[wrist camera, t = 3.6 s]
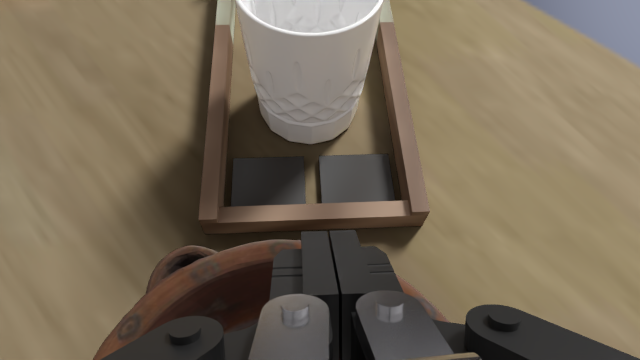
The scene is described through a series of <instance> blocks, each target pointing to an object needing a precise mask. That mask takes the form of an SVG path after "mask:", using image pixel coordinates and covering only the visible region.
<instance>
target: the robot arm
mask: <svg viewBox="0 0 640 360" xmlns="http://www.w3.org/2000/svg"><path fill="white" fill-rule="evenodd" d="M100 360H640V359H638V358H636V357H634V356H631V355H629V354H626V353H624V352H621V351H619V350H616V349H614V348H611V347H609V346H607V345H604V344H602V343H599V342H597V341H594V340H592V339H589V338H587V337H585V336H582V335H580V334H577V333H575V332H572V331H570V330H567V329H565V328H563V327H560V326H558V325H555V324H553V323H550V322H548V321H545V320H543V319H540V318H538V317H536V316H533V315H531V314H528V313H526V312H523V311H521V310H518V309H515V308H512V307H508V306H503V305H481V306H477V307H474V308H473V309H471V310H470V311H469V312H468V313H467V315H466V323H465V325H464V324H457V323H450V322H444V321H439V320H435V319H432V318H430V316H429V315H428V313H427V312H426V310H425V309H424V307H423V305H422V304H421V303H420V302H419V301H418V300H417V299H416V298H414V297H412V296H410V295H408V294H405V293H404V292H403V289H402V287H401V285H400V283H399V281H398V279H397V276H396V274H395V273H394V270H393V268H392V266H391V265H390V261H389V259H388V257H387V255H386V254H385V253H384V252H383V251H381V250H380V249H378V248H377V247H375V246H367V247H361V245H360V243H359V240H358V237H357V234H356V231H355V230H335V231H329V235H328V234H327V231H307V232H301V249H283V250H281V251H280V252H279V253H278V254H277V255H276V256H275V257H274V261H273V270H272V280H271V290H270V300H269V302H268V303H266V304H265V305H264V307H263V308H262V310H261V314H260V318H259V321H258V323H256V324H254V325H252V326H250V327H248V328H246V329H243V330H239V331H235V332H231V333H227V334H224V332H223V327H222V325H221V324H220V323H219V322H218V321H216V320H214V319H212V318H209V317H204V316H187V317H182V318H178V319H174V320H171V321H169V322H167V323H165V324H163V325H161V326H159V327H157V328H155V329H154V330H152V331H150V332H148V333H147V334H145V335H143V336H141V337H139V338H138V339H136V340H134V341H132V342H130V343H129V344H127V345H125V346H123V347H122V348H120V349H118V350H116V351H114V352H113V353H111V354H109V355H107V356H106V357H104V358H102V359H100Z"/></svg>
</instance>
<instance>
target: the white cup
mask: <svg viewBox="0 0 640 360" xmlns="http://www.w3.org/2000/svg"><path fill="white" fill-rule="evenodd" d="M383 2H384V0H235V4H236V9H237V13H238V18H239V23H240V27H241V32H242V37H243V42H244V46H245V51H246V56H247V60H248V64H249V67H250V71H251V76H252V81H253V84H254V87H255V90H256V93H257V96H258V102H259V107H260V112H261V115H262V117H263V118H264V120H265V121H266V123H267V125H268V126H269V128H270V129H271V131H273V132H275V133H276V134H278V135H280V136H281V137H283V138H285V139H286V140H288V141H291V142H298V143H305V144H315V143H320V142H324V141H328V140H332V139H334V138H335V137H337V136H338V135H339V134H341V133H342V132H343V131H345V130H346V129H347V128H349V126H350V124H351V122H352V120H353V118H354V115H355V113H356V111H357V107H358V102H359V98H360V95H361V92H362V89H363V86H364V82H365V78H366V74H367V71H368V67H369V63H370V59H371V54H372V50H373V46H374V41H375V37H376V32H377V28H378V23H379V19H380V15H381V11H382V6H383Z"/></svg>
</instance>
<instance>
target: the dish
mask: <svg viewBox="0 0 640 360" xmlns="http://www.w3.org/2000/svg"><path fill="white" fill-rule="evenodd" d="M283 249H301V240H278V239H277V240H266V241H259V242H252V243H248V244H244V245H240V246H237V247H233V248H230V249H227V250H223V251H220V252H217V251H215V250H212V249H209V248H205V247H201V246H194V245H189V246H184V247H181V248H178V249H176V250H174V251H172V252H171V253H169V254H168V255H166V256H165V257H164V258H163V259H162V260H161V261H160V262H159V263H158V264H157V266H156V267H155V269H154V271H153V273H152V275H151V277H150V280H149V282H148V286H147V291H146V295H144V296H143V297H142V298H141V299H140V300H139V301H138V302H137V303H136V304H135V306H134V307H133V308H132V309H131V310H130V311H129V312H128V313H127V314H126V315H125V316H124V317H123V318H122V320H121V321H120V322H119V323H118V325H117V326H116V327H115V328H114V330H113V331H112V332H111V333H110V334H109V335H108V337H107V338H106V339H105V341H104V342H103V343H102V345H101V346H100V348H99V350H98V351H97V353H96V355H95V357H94V358H93V360H100V359H102V358H104V357H106V356H107V355H109V354H111V353H113V352H114V351H116V350H118V349H120V348H122V347H123V346H125V345H127V344H129V343H130V342H132V341H134V340H136V339H138V338H139V337H141V336H143V335H145V334H147V333H148V332H150V331H152V330H154V329H155V328H157V327H159V326H161V325H163V324H165V323H167V322H169V321H171V320H174V319H178V318H182V317H187V316H204V317H209V318H212V319H214V320H216V321H218V322H219V323H220V324H221V325H222V327H223V332H224V334H227V333H231V332H235V331H239V330H243V329H246V328H248V327H250V326H252V325H254V324H256V323H258V321H259V318H260V314H261V310H262V308H263V307H264V305H265V304H266V303H268V302H269V300H270V290H271V280H272V270H273V261H274V257H275V256H276V255H277V254H278V253H279V252H280V251H281V250H283ZM396 276H397V279H398V281H399V283H400V285H401V287H402V289H403V292H404V293H405V294H408V295H410V296H412V297H414V298H416V299H417V300H418V301H419V302H420V303H421V304H422V305H423V307H424V309H425V310H426V312H427V313H428V315H429V316H430V318H432V319H435V320H439V321H444V322H449V321H448V320H447V319H446V318H445V317H444V316H443V314H442V313H441V312H440V311H439V310H438V309H437V308H436V307H435V306H434V305H433V304H432V303H431V302H430V301H428V300H427V299H426V298H425V297H424V296H423V295H422V294H421V293H420V292H419V291H418V290H417V289H415V288H414V287H413V286H412V285H411V284H410V283H408V282H407V281H405V280H404V279H402V278H401V277H399V276H398V275H396Z"/></svg>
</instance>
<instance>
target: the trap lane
mask: <svg viewBox="0 0 640 360" xmlns="http://www.w3.org/2000/svg"><path fill="white" fill-rule="evenodd" d="M235 7H236V4H235V0H218V2H217V13H216V24H215V36H214V47H213V59H212V70H211V81H210V93H209V104H208V115H207V127H206V138H205V150H204V161H203V172H202V184H201V195H200V206H199V218H198V220H199V222H200V224H201V226H202V228H203V231H204V233H205V234H222V233H248V232H274V231H300V230H326V229H353V228H379V227H405V226H422V225H423V223H424V221H425V219H426V218H427V216H428V214H429V212H430V209H429V204H428V199H427V194H426V189H425V183H424V178H423V173H422V168H421V163H420V157H419V152H418V147H417V142H416V137H415V131H414V126H413V121H412V116H411V111H410V105H409V100H408V95H407V90H406V85H405V79H404V74H403V69H402V64H401V59H400V53H399V48H398V43H397V38H396V33H395V27H394V22H393V17H392V12H391V7H390V1H389V0H384V2H383V6H382V11H381V15H380V19H379V23H378V28H377V32H376V44H377V50H378V56H379V62H380V69H381V75H382V81H383V87H384V94H385V100H386V106H387V112H388V119H389V125H390V131H391V137H392V144H393V150H394V156H395V162H396V169H397V175H398V181H399V187H400V194H401V200H402V201H395V196H394V189H393V183H392V176H391V170H390V163H389V157H388V154H367V155H334V156H319V168H320V184H321V201H322V203H320V204H306V201H305V177H304V156H300V157H267V158H234V159H233V176H232V197H231V207H224V196H225V179H226V161H227V144H228V127H229V110H230V93H231V75H232V58H233V41H234V24H235Z"/></svg>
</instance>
